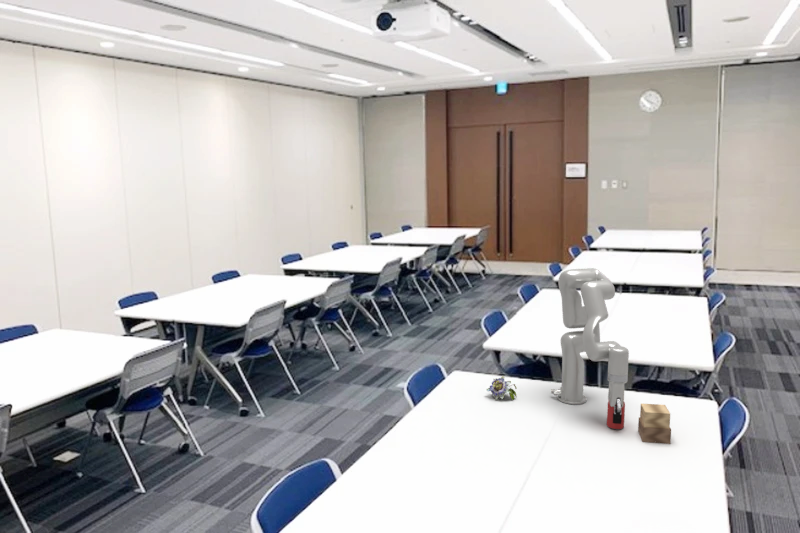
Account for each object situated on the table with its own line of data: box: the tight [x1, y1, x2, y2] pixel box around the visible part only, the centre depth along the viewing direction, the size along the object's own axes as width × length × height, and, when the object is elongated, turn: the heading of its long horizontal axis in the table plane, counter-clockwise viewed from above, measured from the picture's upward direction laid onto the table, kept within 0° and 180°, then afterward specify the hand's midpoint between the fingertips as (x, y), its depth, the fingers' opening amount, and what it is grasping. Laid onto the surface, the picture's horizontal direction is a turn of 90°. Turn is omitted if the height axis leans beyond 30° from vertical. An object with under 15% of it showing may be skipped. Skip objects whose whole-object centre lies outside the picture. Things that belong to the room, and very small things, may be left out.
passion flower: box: [486, 375, 517, 401], centre depth 285 cm, size 11×11×12 cm
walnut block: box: [637, 416, 672, 445], centre depth 241 cm, size 10×10×6 cm
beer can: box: [606, 401, 626, 431], centre depth 251 cm, size 7×7×12 cm
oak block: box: [639, 403, 671, 429], centre depth 241 cm, size 9×9×6 cm
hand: (615, 419), depth 252 cm, fingers closed on beer can, 6 cm apart
